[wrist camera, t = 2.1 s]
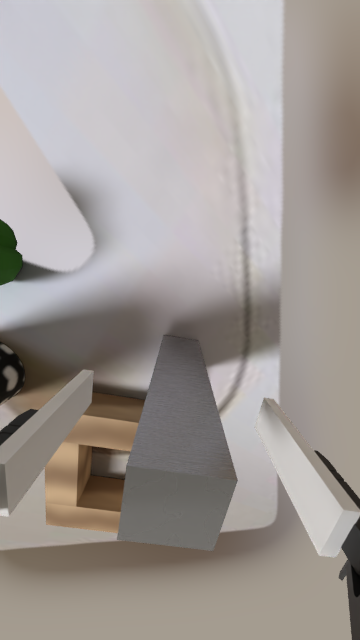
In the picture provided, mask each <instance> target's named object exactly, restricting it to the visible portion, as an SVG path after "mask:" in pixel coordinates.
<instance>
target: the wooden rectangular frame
mask: <svg viewBox="0 0 360 640" xmlns="http://www.w3.org/2000/svg"><path fill="white" fill-rule="evenodd" d="M144 403H145V400H141V399H135V398H128V397H121V396H115V395H108V394H101V393H95V392H92V403H91V404H90V405H89V407H88V408H87V409H86V411H85V412H84V414H83V415H82V416H81V418H80V419H79V420H78V422H77V423H76V425H75V426H74V427H73V429H72V430H71V431H70V433H69V434H68V436H67V437H66V438H65V440H64V441H63V442H62V444H61V445H60V447H59V448H58V449H57V451H56V452H55V454H54V455H53V456H52V458H51V459H50V460H49V462H48V463H47V465H46V466H45V494H46V525H54V526H63V527H71V528H80V529H88V530H97V531H105V532H113V533H118V529H119V521H120V513H121V506H122V498H123V490H124V483H125V480H123V479H115V478H107V477H100V476H92V475H91V459H92V446H96V447H103V448H110V449H118V450H125V451H131V449H132V445H133V442H134V438H135V435H136V431H137V428H138V424H139V421H140V417H141V414H142V410H143V407H144Z"/></svg>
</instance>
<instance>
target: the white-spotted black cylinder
mask: <svg viewBox="0 0 360 640" xmlns="http://www.w3.org/2000/svg"><path fill="white" fill-rule="evenodd" d="M24 380H25V372H24V368H23V365H22V363H21V361H20V359H19V358H18V357H17V355H16V354H15V353H14V352H13V351H12V350H11V349H10V348H9V347H7V346H6V345H4V344H3V343H1V342H0V405H2V404H3V403H4V402H6V401H7V400H9V399H10V398H11V397H13V396H14V395H15V394H17V393H18V392H19V391H20V390H21V388H22V387H23V384H24Z"/></svg>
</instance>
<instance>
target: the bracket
mask: <svg viewBox="0 0 360 640" xmlns="http://www.w3.org/2000/svg"><path fill="white" fill-rule="evenodd" d="M237 481H238V480H237V477H236V473H235V470H234V466H233V462H232V459H231V455H230V452H229V448H228V445H227V441H226V437H225V434H224V430H223V427H222V423H221V420H220V416H219V413H218V409H217V405H216V402H215V398H214V395H213V391H212V388H211V384H210V380H209V377H208V373H207V370H206V366H205V363H204V359H203V356H202V352H201V348H200V345H199V341H198V340H192V339H186V338H180V337H174V336H168V335H164V336H163V340H162V343H161V347H160V350H159V354H158V357H157V361H156V364H155V368H154V371H153V375H152V378H151V382H150V385H149V389H148V393H147V396H146V400H145V403H144V407H143V410H142V414H141V417H140V421H139V424H138V428H137V431H136V435H135V438H134V442H133V445H132V449H131V452H130V456H129V459H128V463H127V467H126V475H125V483H124V490H123V498H122V506H121V513H120V521H119V529H118V536H117V540H125V541H133V542H142V543H150V544H159V545H167V546H176V547H184V548H193V549H202V550H210V551H213V550H214V547H215V544H216V541H217V538H218V536H219V533H220V530H221V527H222V524H223V521H224V518H225V516H226V513H227V510H228V507H229V504H230V501H231V498H232V495H233V492H234V490H235V487H236V484H237Z"/></svg>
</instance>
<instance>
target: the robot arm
mask: <svg viewBox="0 0 360 640" xmlns="http://www.w3.org/2000/svg"><path fill="white" fill-rule="evenodd" d="M93 373H94V371H91V370H85V369H83V370H82V371H81V372H80V373H79V374H78V375H77V376H76V377H74V378H73V379H72V380H71V381H70V382H69V383H68V384H67V385H66V386H65V387H64V388H62V389H61V390H60V391H59V392H58V393H57V394H56V395H55V396H54V397H53V398H52V399H51V400H49V401H48V402H47V403H46V404H45V405H44V406H43V407H42V408H41V409H40V410H34V409H30V410H28V411H26V412H24V413H23V414H21V415H19V416H18V417H16V418H15V419H14V420H13V421H12V422H10V423H9V424H8V426H6V427H4V428H3V429H2V430H1V431H0V515H1V516H10V514H11V513H12V511H13V510H14V509H15V507H16V506H17V504H18V503H19V502H20V500H21V499H22V498H23V496H24V495H25V493H26V492H27V491H28V489H29V488H30V487H31V485H32V484H33V482H34V481H35V480H36V478H37V477H38V476H39V474H40V473H41V471H42V470H43V469H44V467H45V466H46V465H47V463H48V462H49V460H50V459H51V458H52V456H53V455H54V454H55V452H56V451H57V449H58V448H59V447H60V445H61V444H62V442H63V441H64V440H65V438H66V437H67V436H68V434H69V433H70V431H71V430H72V429H73V427H74V426H75V425H76V423H77V422H78V420H79V419H80V418H81V416H82V415H83V414H84V412H85V411H86V409H87V408H88V407H89V405H90V404H91V403H92V389H93ZM255 429H256V431H257V433H258V435H259V437H260V439H261V441H262V443H263V445H264V447H265V449H266V451H267V453H268V455H269V457H270V459H271V461H272V463H273V465H274V467H275V469H276V471H277V473H278V475H279V477H280V479H281V481H282V483H283V485H284V487H285V489H286V491H287V492H288V495H289V497H290V499H291V501H292V503H293V505H294V507H295V508H296V510H297V513H298V514H299V517H300V519H301V521H302V523H303V524H304V526H305V529H306V531H307V533H308V535H309V537H310V538H311V541H312V542H313V544H314V546H315V548H316V550H317V552H318V555H320V556H328V557H336V556H337V554H338V553H339V551H340V549H341V548H342V550H343V551H344V553H345V554H346V556H347V558H348V560H347V561H346V563H345V565H344V567H343V568H342V570H341V571H340V574H339V578H340V579H341V580H343V579H344V577H345V576H346V575H347V587H348V598H349V610H350V622H351V634H352V640H360V499H359V498H358V496H357V495H356V494H355V493H354V491H353V490H352V489H351V488H350V487H349V485H348V484H347V483H346V482H344V479H343V478H342V477H341V475H340V474H339V473H337V471H336V469H335V468H334V467H333V466H332V465H331V463H330V462H329V461H328V460H327V459H326V458H325V457H324V456H323V455H322V454H320V453H319V452H318V451H314V450H313V449H312V448H311V446H310V445H309V444H308V443H307V441H306V440H305V439H304V438H303V436H302V435H301V434H300V432H299V431H298V430H297V428H296V427H295V426H294V425H293V424H292V422H291V421H290V420H289V418H288V417H287V416H286V415H285V413H284V412H283V411H282V409H281V408H280V407H279V405H278V404H277V403H276V402H275V400H274V399H269V398H264V400H263V403H262V406H261V409H260V412H259V415H258V418H257V421H256V424H255Z"/></svg>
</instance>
